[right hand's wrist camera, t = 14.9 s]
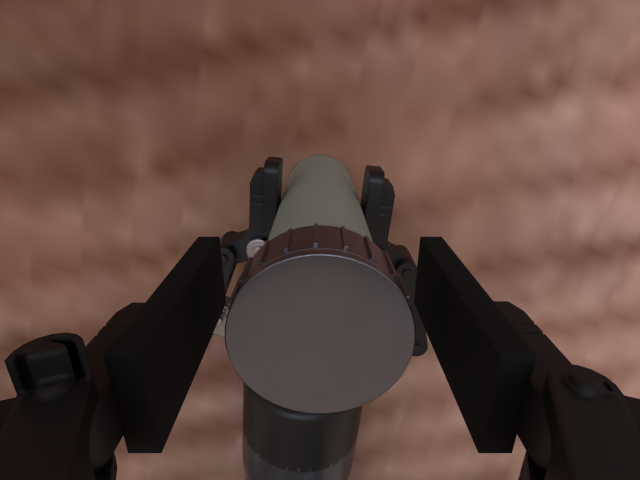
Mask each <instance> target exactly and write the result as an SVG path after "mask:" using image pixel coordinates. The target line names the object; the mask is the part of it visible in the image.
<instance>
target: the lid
mask: <svg viewBox="0 0 640 480" xmlns="http://www.w3.org/2000/svg"><path fill="white" fill-rule="evenodd" d="M408 299H410V296H409V294H408V291H407V289H406V287H405V284H404V282H403V280H402V277H401V275H400V273H399V271H396V270H395V268H394V266H393V265H392V263H391V260H390V258H389V255H388V253H387V252H386V251H384V252H383V251H382V250H381V249H380V248H379V247H378V246H377V245H376V244H374V243H373V242H372V241H370V239H369V237H368V236H365V237H364V236H362V235H360V234H358V233H356V232H353V231H351V230H348V229H345V227H344V226H341V228H340V227H336V226H327V225H318V223H315V224H314V225H312V226H305V227H300V228H296V229H292V228H289V229H288V231H287V232H285V233H282V234H280V235H278V236H276V237H275V238H273V239H271V240H270V241H269V240H266V241H265V244H264V245H263V246H262V247H261V248H260V249H259V250H258V251H257V252H256V253H255V255H254V256H253V257H251V256H250V257H249V258H248V261H247V263H246V266H245V268H244V270H243V273H242V275H241V277H239V279H238V281H237V284H236V286H235V288H234V291H233V293H232V295H231V298H230V300H229V303H228V306H230V308H229V311H228V313H227V317H226V322H225V344H226V349H227V353H228V356H229V359H230V361H231V363H232V365H233V367H234V369H235V370H236V372H237V374H238V375H239V376H240V378H241V379H242V380H243V381H244V382H245V384H246V385H248V386H249V387H250V388H251V389H252V390H253V391H254V392H256V393H257V394H258V395H260V396H261V397H263V398H264V399H266V400H268V401H270V402H272V403H274V404H276V405H279V406H281V407H284V408H287V409H290V410H294V411H299V412H305V413H335V412H341V411H346V410H350V409H353V408H356V407H359V406H362V405H364V404H366V403H368V402H371V401H372V400H374V399H376V398H377V397H379V396H381V395H382V394H383V393H385V392H386V391H387V390H389V389H390V388H391V387H392V386H393V385H394V384H395V383H396V382H397V380H398V379H399V378H400V377H401V375H402V374H403V373H404V371H405V369H406V368H407V366H408V364H409V362H410V359H411V357H412V354H413V350H414V346H415V338H416V328H415V319H414V316H413V312H412V310H411V307H410V305H409V302H408Z"/></svg>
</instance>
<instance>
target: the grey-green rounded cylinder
mask: <svg viewBox="0 0 640 480" xmlns="http://www.w3.org/2000/svg"><path fill="white" fill-rule="evenodd" d="M315 223H318V225H327V226H336V227H340V228H341V226H344V227H345V229H348V230H351V231H353V232H356V233H358V234H360V235H362V236H364V237H365V236H368V237H369V239H370V241H372V238H371V235H370V232H369V229H368V226H367V223H366V220H365V217H364V214H363V211H362V208H361V206H360V203H359V200H358V197H357V194H356V191H355V188H354V185H353V182H352V179H351V176H350V174H349V172H348V170H347V169H346V167H345V166H344V165H343V164H342V163H341V162H339V161H338V160H336V159H335V158H332V157H329V156H325V155H315V156H310V157H308V158H305V159H303V160H302V161H300V162H299V163H298V164H297V165H296V166H295V167H294V168H293V170H292V172H291V174H290V176H289V179H288V182H287V185H286V188H285V191H284V194H283V197H282V200H281V203H280V206H279V209H278V212H277V215H276V217H275V220H274V223H273V226H272V229H271V232H270V235H269V238H268V240H269V241H270V240H271V239H273V238H275V237H276V236H278V235H280V234H282V233H285V232H287V231H288V229H289V228H292V229H296V228H300V227H305V226H312V225H314V224H315ZM372 242H373V241H372Z"/></svg>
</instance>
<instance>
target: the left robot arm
mask: <svg viewBox="0 0 640 480" xmlns="http://www.w3.org/2000/svg"><path fill="white" fill-rule="evenodd" d="M282 166H283V158H278V157H268V159H267V160H266V161H265V166H264V168H260V167H259V168H258V169H257V170H256V172H255V173H254V175H253V178H252V180H251V182H250V222H249V229H248V230H245V231H242V232H238V233H237V232H234V231H230V232H227V233H225V234H224V236H223V237H222V239H221V241H220V247H221V256H222V266H223V276H224V285H225V295H226V293H227V290H228V287H229V284H230V281H231V278H232V275H233V272H234V269H235V266H236V264H237V263H241V262H245V261H248V258H249V257H250V256H251V257H253V256H254V255H255V253H256V252H257V251H258V250H259V249H260V248H261V247H262V246H263V245H264V244H265V241H266V240H268V238H269V235H270V232H271V229H272V226H273V223H274V220H275V217H276V215H277V212H278V209H279V206H280V203H281V187H282ZM394 197H395V194H394V190H393V186H392V184H391V183H390V181H389V180H388V179H385V178H384V171H383V170H382V169H381V167H379V166H366V168H365V174H364V181H363V189H362V197H361V204H360V206H361V208H362V211H363V214H364V217H365V220H366V223H367V226H368V229H369V232H370V235H371V238H372V241H373V243H374V244H376V245H377V246H378V247H379V248H380V249H381V250H382V251H383V252H384V251H386V252H387V253H388V255H389V258H390V260H391V263H392V265H393V266H394V268H395V270H396V271H399V273H400V275H401V277H402V280H403V282H404V284H405V287H406V289H407V291H408V294H409V296H410V299H408V302H409V305H410V307H411V310H412V312H413V316H414V319H415V328H416V338H415V346H414V350H413V354H412V356H420V355H422V354H424V353H425V352H426V351H427V348H428V345H427V336H426V330H425V328H424V325H423V323H422V321H421V318H420V316H419V314H418V311H417V309H416V307H415V304H414V295H415V285H416V276H417V266H416V264H415V263H414V261H413V259H412V257H411V255H410V253H409V251H408V249H407V248H406V247H404V246H402V245H394V244H392V243H390V242H388V234H389V228H390V222H391V216H392V215H391V214H392V209H393V203H394ZM229 300H230V297H228V296H226V304H225V307H224V309H223V311H222V314H221V316H220V318H219V321H218V323H217V325H216V328H215V330H214V332H213V334H214V335H217V336H220V337H223V338H225V322H226V317H227V313H228V311H229V308H230V306H228V303H229ZM361 410H362V406H359V407H356V408H353V409H350V410H346V411H341V412H335V413H305V412H299V411H294V410H290V409H287V408H284V407H281V406H279V405H276V404H274V403H272V402H270V401H268V400H266V399H264V398H263V397H261V396H260V395H258V394H257V393H256V392H254V391H253V390H252V389H251V388H250V387H249V386H248V385H246V384H245V382H244V400H243V461H244V468H245V472H246V480H347V479H348V476H349V474H350V471H351V467H352V463H353V458H354V453H355V447H356V441H357V434H358V429H359V423H360V417H361Z"/></svg>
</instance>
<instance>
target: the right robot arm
mask: <svg viewBox="0 0 640 480" xmlns="http://www.w3.org/2000/svg"><path fill="white" fill-rule="evenodd" d="M225 304H226V295H225V285H224V276H223V266H222V256H221V247H220V237H198V238H197V239H196V241H195V242H194V243H193V244H192V246H191V247H190V248H189V249H188V251H187V252H186V253H185V254H184V256H183V257H182V258H181V259H180V261H179V262H178V263H177V264H176V266H175V267H174V268H173V269H172V270H171V272H170V273H169V274H168V275H167V277H166V278H165V279H164V280H163V282H162V283H161V284H160V285H159V287H158V288H157V289H156V290H155V292H154V293H153V294H152V295H151V297H150V298H149V299H148V300H147V302H146V303H131V304H129V305H128V306H126V307H124V308H123V309H121V310H120V311H118V312H116V313H115V315H114V316H113V317H112V318H111V319H110V320H109V321H108V322H107V323H106V326H104V327H103V328H102V329H101V330H100V331H99V332H98V335H97V336H95V337H94V338H93V339H92V340H91V341H90V342H89V344H88V345H87V346H86V347H85V345H84V341H83V338H81V337H80V336H78V335H77V334H71V333H59V334H51V335H48V336H44V337H40V338H37V339H35V340H33V341H30V342H28V343H26V344H24V345H22V346H21V347H19V348H18V349H16V350H15V351H13V352H12V353H11V354H10V355H9V356H8V357H7V359H6V360H5V364H6V366H7V369H8V372H9V374H10V377H11V380H12V382H13V385H14V388H15V390H16V393H17V396H16V397H15V398H11V399H7V400H2V401H0V480H116V473H117V463H116V457H115V454H114V451H115V449H116V447H117V445H118V444H119V442H120V440H121V438H122V436H123V435H124V438H125V442H126V446H127V450H128V453H162V450H163V448H164V446H165V443H166V441H167V439H168V436H169V434H170V432H171V430H172V427H173V425H174V423H175V420H176V418H177V416H178V413H179V411H180V409H181V406H182V404H183V402H184V399H185V397H186V395H187V392H188V390H189V388H190V386H191V383H192V381H193V379H194V376H195V374H196V372H197V369H198V367H199V365H200V362H201V360H202V358H203V355H204V353H205V351H206V348H207V346H208V344H209V342H210V339H211V337H212V335H213V332H214V330H215V328H216V325H217V323H218V321H219V318H220V316H221V314H222V311H223V309H224V307H225ZM414 304H415V307H416V309H417V311H418V314H419V316H420V318H421V321H422V323H423V325H424V328H425V330H426V332H427V335H428V337H429V339H430V342H431V344H432V346H433V348H434V351H435V353H436V355H437V358H438V360H439V362H440V365H441V367H442V369H443V372H444V374H445V376H446V379H447V381H448V383H449V386H450V388H451V390H452V392H453V395H454V397H455V399H456V402H457V404H458V406H459V409H460V411H461V413H462V416H463V418H464V420H465V423H466V425H467V427H468V430H469V432H470V434H471V436H472V439H473V441H474V443H475V446H476V448H477V450H478V453H512V450H513V446H514V442H515V438H516V435H518V436H519V438H520V440H521V442H522V443H523V445H524V447H525V449H526V454H525V457H524V461H523V465H522V468H521V472H520V476H519V479H518V480H640V399H637V398H632V397H628V396H624V395H623V394H622V392H621V391H620V390H619V388H618V387H617V386H616V385H615V384H614V383H613V382H612V381H610V380H609V379H608V378H606V377H605V376H603V375H601V374H599V373H597V372H595V371H593V370H591V369H588V368H585V367H581V366H578V365H572V364H571V363H570V362H569V361H568V359H567V358H566V357H565V356H564V355H563V354H562V353H561V352H560V351H559V349H558V348H557V347H556V346H555V345H554V344H553V343H552V342H551V341H550V339H549V338H548V337H547V336H546V335H545V334H543V332H542V331H541V330H540V328H539V327H538V326H537V325H534V322H533V321H532V320H531V318H530V317H529V316H528V315H527V314H526V313H525V312H524V311H523V310H521V309H520V308H518V307H516V306H515V305H513V304H511V303H510V302H493V300H492V299H491V298H490V297H489V295H488V294H487V293H486V292H485V290H484V289H483V288H482V287H481V285H480V284H479V283H478V282H477V280H476V279H475V278H474V277H473V275H472V274H471V273H470V272H469V270H468V269H467V268H466V267H465V266H464V264H463V263H462V262H461V261H460V259H459V258H458V257H457V256H456V254H455V253H454V252H453V251H452V249H451V248H450V247H449V246H448V244H447V243H446V242H445V241H444V239H443V238H442V237H420V247H419V256H418V266H417V276H416V285H415V295H414Z"/></svg>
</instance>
